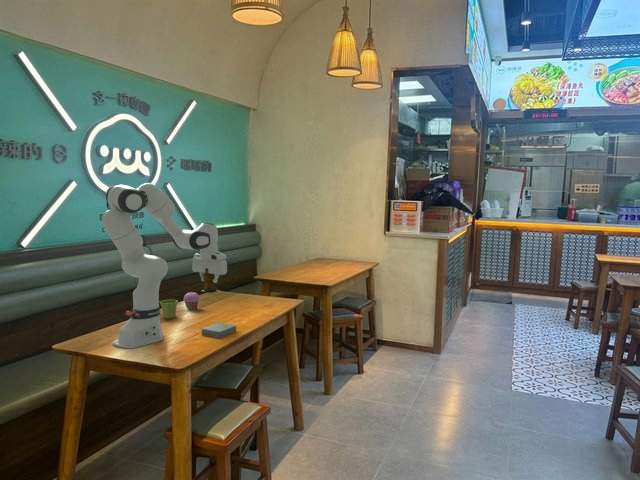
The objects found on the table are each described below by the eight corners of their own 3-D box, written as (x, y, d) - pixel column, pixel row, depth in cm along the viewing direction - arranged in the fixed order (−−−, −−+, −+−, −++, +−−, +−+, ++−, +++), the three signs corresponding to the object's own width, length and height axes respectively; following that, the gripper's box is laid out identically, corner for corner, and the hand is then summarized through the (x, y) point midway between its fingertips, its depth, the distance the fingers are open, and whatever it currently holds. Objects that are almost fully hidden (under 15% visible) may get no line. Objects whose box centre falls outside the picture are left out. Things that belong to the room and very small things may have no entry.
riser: (219, 338, 215) (219, 332, 215) (201, 334, 220) (201, 328, 220) (236, 331, 226) (236, 325, 226) (218, 328, 231) (218, 322, 231)
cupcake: (202, 308, 268) (202, 291, 267) (191, 312, 261) (190, 294, 260) (192, 306, 273) (191, 289, 272) (180, 309, 266) (180, 292, 265)
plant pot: (157, 319, 246) (157, 303, 245) (163, 314, 255) (162, 299, 254) (175, 319, 246) (175, 303, 245) (180, 314, 256) (180, 299, 255)
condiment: (213, 289, 242) (213, 266, 241) (221, 291, 235) (220, 268, 234) (200, 290, 237) (199, 267, 236) (208, 293, 231) (207, 269, 229)
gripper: (189, 254, 237) (189, 280, 238) (220, 257, 227) (220, 284, 228) (197, 252, 242) (198, 279, 244) (228, 255, 233) (229, 282, 234)
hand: (209, 281), depth 236 cm, fingers closed on condiment, 6 cm apart
